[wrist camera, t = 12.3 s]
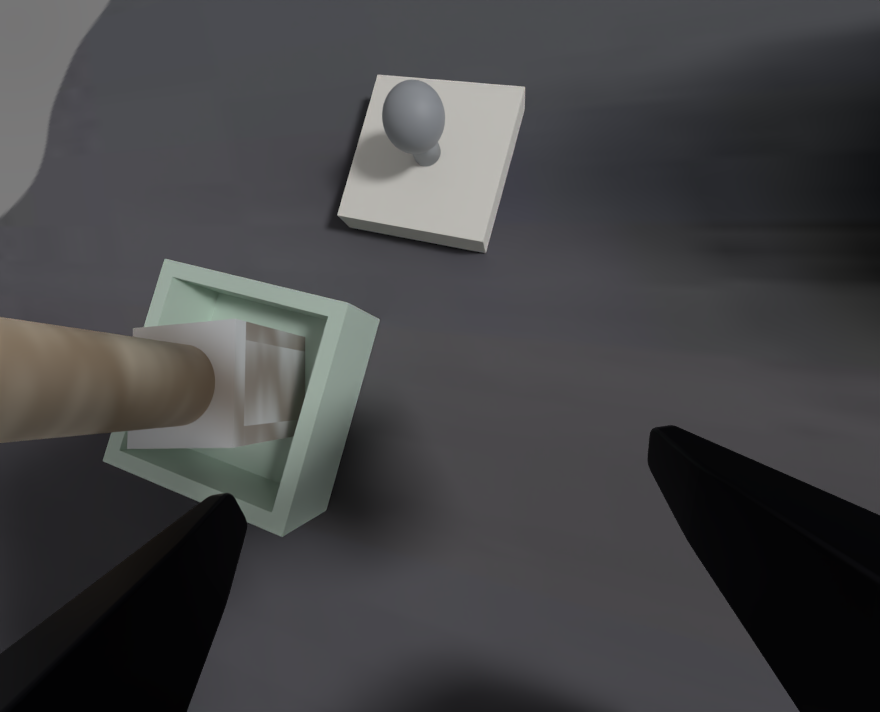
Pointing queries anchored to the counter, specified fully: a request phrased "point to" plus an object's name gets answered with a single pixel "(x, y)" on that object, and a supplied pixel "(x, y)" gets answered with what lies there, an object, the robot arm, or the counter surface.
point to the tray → (322, 415)
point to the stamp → (152, 383)
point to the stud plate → (433, 160)
